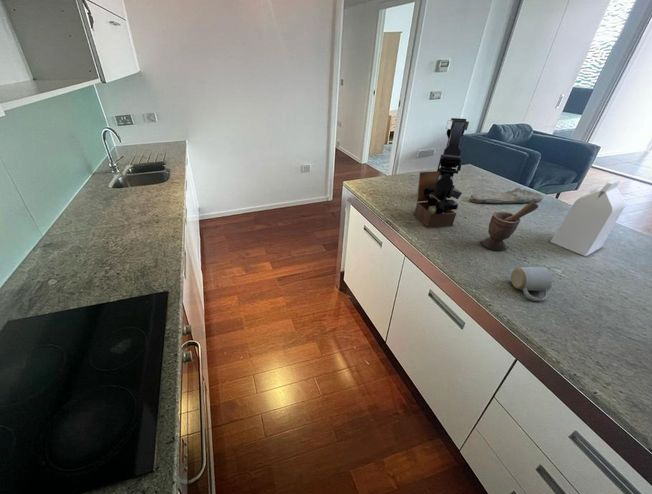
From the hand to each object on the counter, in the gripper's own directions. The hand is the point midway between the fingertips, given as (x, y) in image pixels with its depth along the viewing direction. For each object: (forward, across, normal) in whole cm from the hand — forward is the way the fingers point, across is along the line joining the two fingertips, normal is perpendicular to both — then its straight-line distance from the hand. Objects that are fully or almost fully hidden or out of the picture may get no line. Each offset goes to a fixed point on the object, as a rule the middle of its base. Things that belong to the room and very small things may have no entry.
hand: (434, 215), depth 133 cm
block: (+1, 0, 0) cm, 1 cm away
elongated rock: (+3, +14, -46) cm, 48 cm away
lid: (-11, +8, 0) cm, 13 cm away
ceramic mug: (+3, -48, -6) cm, 49 cm away
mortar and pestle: (+3, -24, -14) cm, 27 cm away
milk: (+3, -26, -44) cm, 51 cm away
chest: (+3, 0, 0) cm, 3 cm away
